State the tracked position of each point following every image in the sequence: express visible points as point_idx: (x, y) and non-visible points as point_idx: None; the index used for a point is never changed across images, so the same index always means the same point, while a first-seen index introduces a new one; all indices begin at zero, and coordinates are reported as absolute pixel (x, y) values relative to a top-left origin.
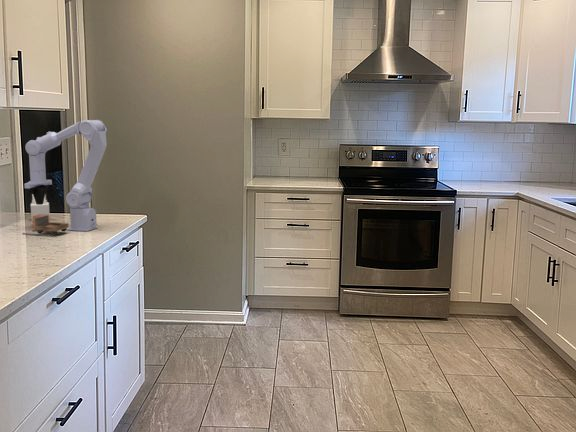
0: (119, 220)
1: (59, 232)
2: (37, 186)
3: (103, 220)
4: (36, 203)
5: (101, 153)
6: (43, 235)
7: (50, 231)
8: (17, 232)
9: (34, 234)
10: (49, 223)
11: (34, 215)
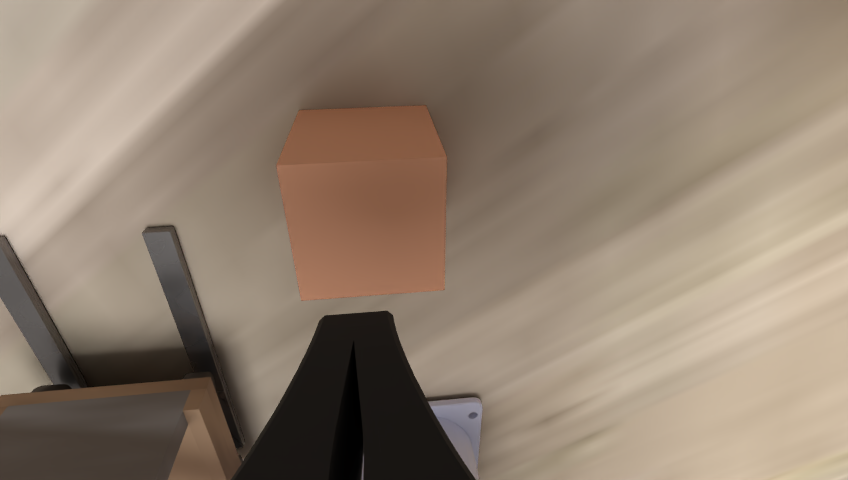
0: (740, 460)
1: None
2: None
3: (748, 396)
4: (315, 332)
5: None
6: None
7: None
8: (6, 121)
9: (35, 350)
10: (194, 423)
11: (323, 167)
